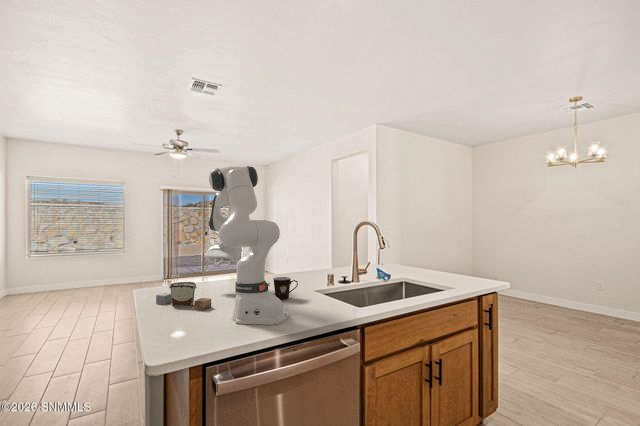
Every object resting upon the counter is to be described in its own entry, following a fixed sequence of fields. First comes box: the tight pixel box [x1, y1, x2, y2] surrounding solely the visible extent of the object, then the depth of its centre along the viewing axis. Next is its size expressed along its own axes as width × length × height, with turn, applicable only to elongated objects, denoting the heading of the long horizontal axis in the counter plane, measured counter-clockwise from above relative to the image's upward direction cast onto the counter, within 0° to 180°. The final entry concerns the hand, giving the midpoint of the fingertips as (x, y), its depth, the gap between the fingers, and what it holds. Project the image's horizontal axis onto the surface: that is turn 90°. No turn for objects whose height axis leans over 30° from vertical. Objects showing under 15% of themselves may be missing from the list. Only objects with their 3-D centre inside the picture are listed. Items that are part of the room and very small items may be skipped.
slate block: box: [155, 292, 172, 305], centre depth 145 cm, size 5×5×4 cm
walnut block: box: [193, 297, 212, 311], centre depth 135 cm, size 5×5×4 cm
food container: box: [169, 281, 197, 308], centre depth 141 cm, size 12×6×10 cm, turn 84°
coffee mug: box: [273, 276, 299, 301], centre depth 151 cm, size 12×9×10 cm
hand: (216, 266), depth 163 cm, fingers closed
